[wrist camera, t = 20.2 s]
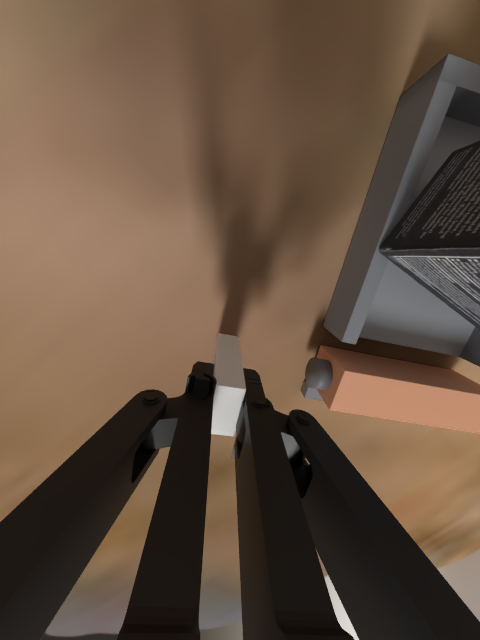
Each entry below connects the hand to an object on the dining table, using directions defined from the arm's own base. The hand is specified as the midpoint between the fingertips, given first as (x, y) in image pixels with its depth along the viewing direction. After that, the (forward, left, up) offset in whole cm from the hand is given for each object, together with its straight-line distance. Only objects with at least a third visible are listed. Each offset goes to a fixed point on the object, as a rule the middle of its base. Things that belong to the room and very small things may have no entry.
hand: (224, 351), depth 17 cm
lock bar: (+13, 0, -1) cm, 14 cm away
